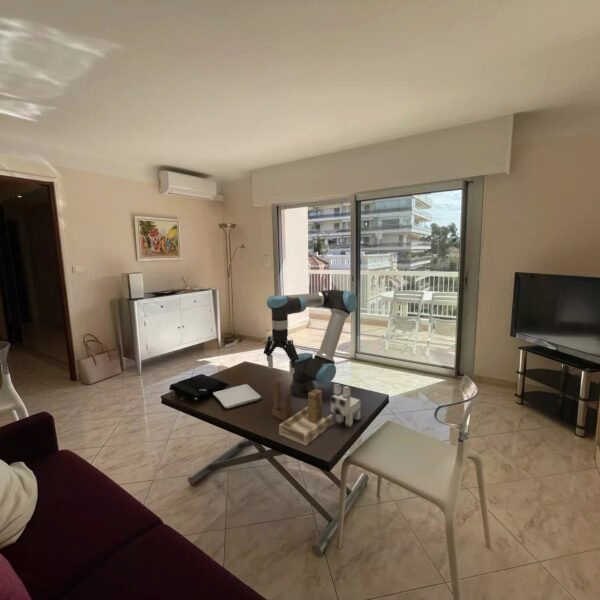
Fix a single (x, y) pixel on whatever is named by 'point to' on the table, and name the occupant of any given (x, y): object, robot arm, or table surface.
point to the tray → (304, 427)
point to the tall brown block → (315, 406)
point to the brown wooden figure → (281, 403)
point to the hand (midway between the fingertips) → (281, 370)
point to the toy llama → (345, 405)
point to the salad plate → (237, 396)
